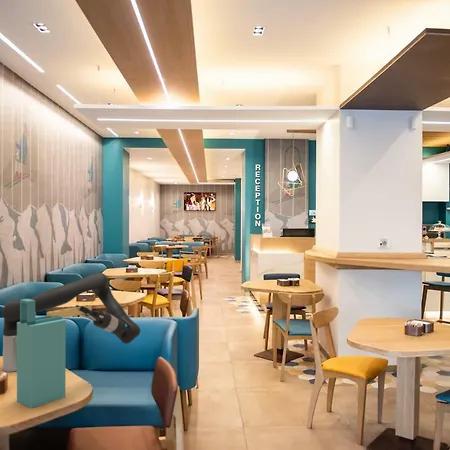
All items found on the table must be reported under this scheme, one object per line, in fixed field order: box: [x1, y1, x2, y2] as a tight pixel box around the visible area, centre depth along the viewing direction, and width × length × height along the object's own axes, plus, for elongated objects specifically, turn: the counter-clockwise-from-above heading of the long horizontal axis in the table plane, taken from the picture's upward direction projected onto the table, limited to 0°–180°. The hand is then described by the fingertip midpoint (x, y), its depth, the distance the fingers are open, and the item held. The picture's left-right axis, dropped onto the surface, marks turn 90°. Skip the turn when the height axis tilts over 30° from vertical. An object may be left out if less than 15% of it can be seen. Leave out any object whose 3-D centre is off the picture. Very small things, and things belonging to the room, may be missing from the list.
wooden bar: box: [46, 304, 93, 319], centre depth 204 cm, size 3×20×3 cm, turn 142°
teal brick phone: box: [16, 298, 67, 409], centre depth 193 cm, size 11×15×41 cm
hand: (78, 307), depth 207 cm, fingers closed on wooden bar, 3 cm apart
